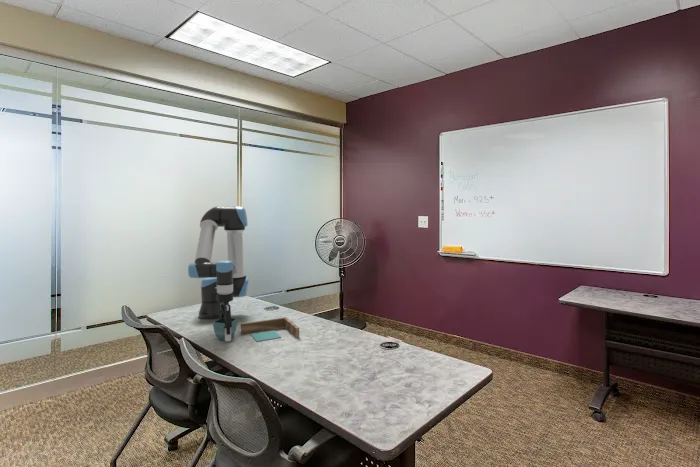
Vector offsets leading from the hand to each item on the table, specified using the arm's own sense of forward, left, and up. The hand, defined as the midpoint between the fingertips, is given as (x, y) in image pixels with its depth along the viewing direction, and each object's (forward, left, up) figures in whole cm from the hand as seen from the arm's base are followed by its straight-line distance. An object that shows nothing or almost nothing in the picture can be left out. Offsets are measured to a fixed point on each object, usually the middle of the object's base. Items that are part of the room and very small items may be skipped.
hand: (225, 336), depth 179 cm
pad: (+6, +18, -1) cm, 19 cm away
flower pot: (0, 0, -1) cm, 1 cm away
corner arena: (+6, +20, -1) cm, 21 cm away
